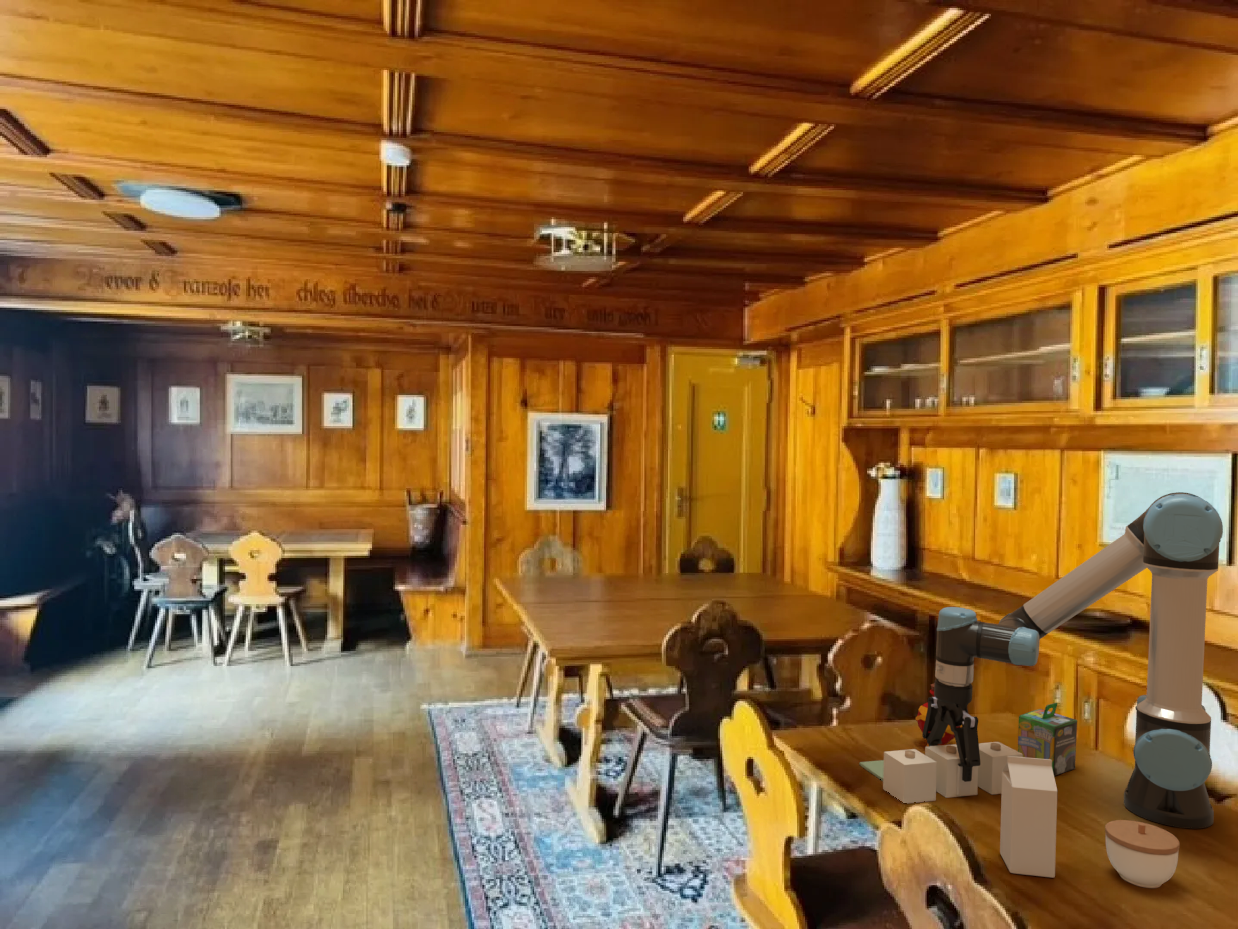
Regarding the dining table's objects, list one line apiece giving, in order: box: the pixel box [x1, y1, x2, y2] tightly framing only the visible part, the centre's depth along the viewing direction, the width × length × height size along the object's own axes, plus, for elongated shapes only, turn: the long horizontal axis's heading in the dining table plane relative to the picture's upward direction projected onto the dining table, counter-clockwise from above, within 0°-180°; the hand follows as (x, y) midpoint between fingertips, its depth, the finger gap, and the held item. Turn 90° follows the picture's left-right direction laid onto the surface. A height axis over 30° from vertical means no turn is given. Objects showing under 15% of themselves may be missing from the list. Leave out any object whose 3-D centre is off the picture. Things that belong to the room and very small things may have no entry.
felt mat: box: [859, 759, 884, 782], centre depth 188 cm, size 12×24×1 cm, turn 105°
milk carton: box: [999, 756, 1058, 878], centre depth 145 cm, size 7×7×19 cm
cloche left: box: [882, 748, 937, 804], centre depth 175 cm, size 8×8×9 cm
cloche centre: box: [924, 743, 978, 799], centre depth 178 cm, size 8×8×9 cm
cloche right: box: [978, 741, 1023, 795], centre depth 180 cm, size 8×8×9 cm
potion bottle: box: [915, 683, 961, 747], centre depth 203 cm, size 10×10×15 cm
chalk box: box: [1017, 702, 1078, 777], centre depth 192 cm, size 9×9×15 cm
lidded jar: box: [1104, 819, 1181, 889], centre depth 142 cm, size 11×11×9 cm
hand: (948, 784), depth 179 cm, fingers open, 9 cm apart
